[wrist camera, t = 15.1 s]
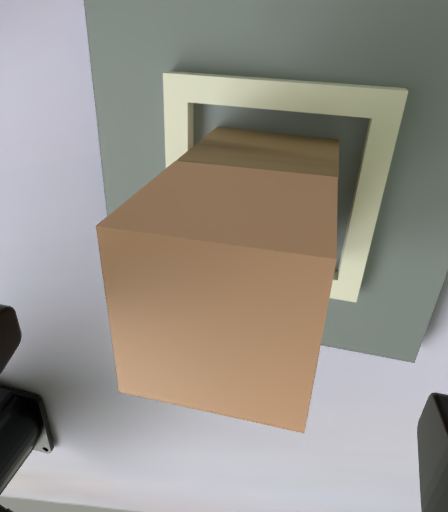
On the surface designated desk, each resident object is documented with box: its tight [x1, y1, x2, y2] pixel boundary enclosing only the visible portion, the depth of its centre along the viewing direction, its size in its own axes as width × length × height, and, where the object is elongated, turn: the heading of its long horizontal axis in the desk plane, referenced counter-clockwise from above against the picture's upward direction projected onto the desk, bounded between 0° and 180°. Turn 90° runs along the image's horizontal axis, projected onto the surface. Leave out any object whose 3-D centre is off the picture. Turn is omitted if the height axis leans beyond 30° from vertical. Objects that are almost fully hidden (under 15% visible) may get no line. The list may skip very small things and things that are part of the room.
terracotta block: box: [96, 161, 338, 433], centre depth 12 cm, size 5×5×5 cm
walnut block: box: [177, 127, 339, 181], centre depth 16 cm, size 5×5×5 cm
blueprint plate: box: [84, 0, 448, 363], centre depth 18 cm, size 16×16×2 cm
